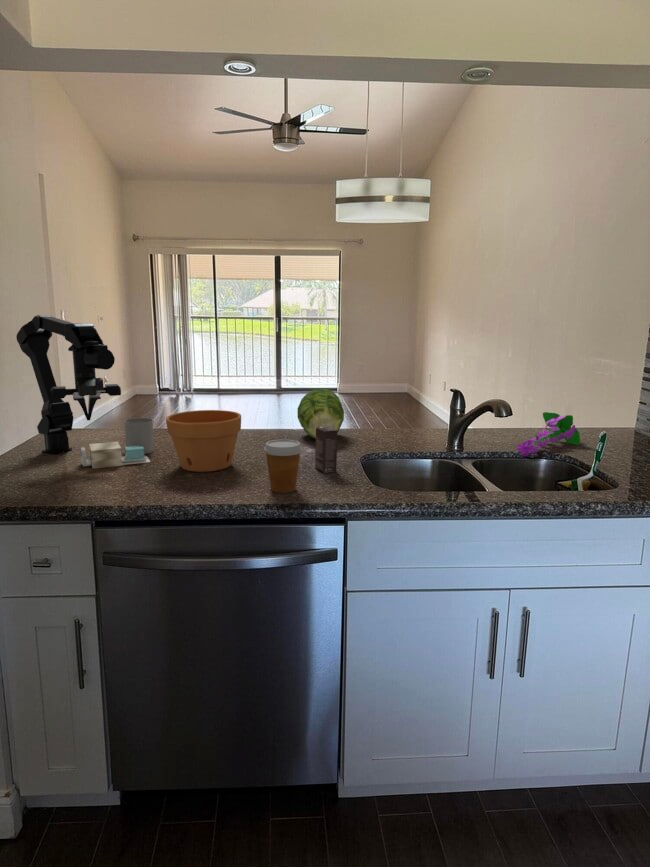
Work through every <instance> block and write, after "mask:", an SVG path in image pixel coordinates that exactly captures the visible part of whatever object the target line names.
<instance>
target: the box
mask: <svg viewBox="0 0 650 867" xmlns="http://www.w3.org/2000/svg"><path fill="white" fill-rule="evenodd" d="M337 432H338V430H335V429H333V428H330V427H316V439H315V452H314V455H315V456H314V457H315V458H314V468H315V469H316V470H319V471H320V472H322V473H325V474H327V473H334V472H337V465H338V463H337V460H338V433H339V432H338V433H337Z"/></svg>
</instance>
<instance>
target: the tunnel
mask: <svg viewBox="0 0 650 867" xmlns="http://www.w3.org/2000/svg"><path fill="white" fill-rule="evenodd" d="M88 447H89V460H90V459H92V466H91V468H92V469H101V468H102V469H103V468H112V467H121V466H122V467H123V465H122V456H123V455H122V447H121V445H120V443H119V442H118V441H111V442H109V441H108V442H99V443H98V442H96V443H89V444H88Z"/></svg>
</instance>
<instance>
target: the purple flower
mask: <svg viewBox="0 0 650 867" xmlns="http://www.w3.org/2000/svg"><path fill="white" fill-rule="evenodd" d="M542 417H543V420H544V422H545V427H544V428H543V429H542V431H540V432H539V433H538V435H537V434H535V436H534V437H531V438H530V439H528V440H527V441H525V442H523V443H519V444H518V445H516V449H517V451H518V452H520V455H521V456H523V457H527V456H529V454H534V453H536V452H537V451H538V448H545V447H546V445H547V444H548V443H551V444H554V443H556V442H559V441H561V440H563V439H564V440H565V442H566V443H567V444H571V445H572V444H573V445H577V446H580V444H581V437H580V432H579V430H578V428H576V425H575V424H574V416H573V415H571V414H567V415H560V414H558V413H555V412H547V411H546V412H545V411H544V412H542ZM547 427H549V428H547ZM548 438H549V439H548Z"/></svg>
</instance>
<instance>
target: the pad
mask: <svg viewBox="0 0 650 867" xmlns="http://www.w3.org/2000/svg"><path fill="white" fill-rule="evenodd" d="M145 457H146V460H143V461H133V462H123V463H122V466H125V465H134V464H144V463H147V464H148V463H151V460H150V459H149V457H148V456H147V455H145Z"/></svg>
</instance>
